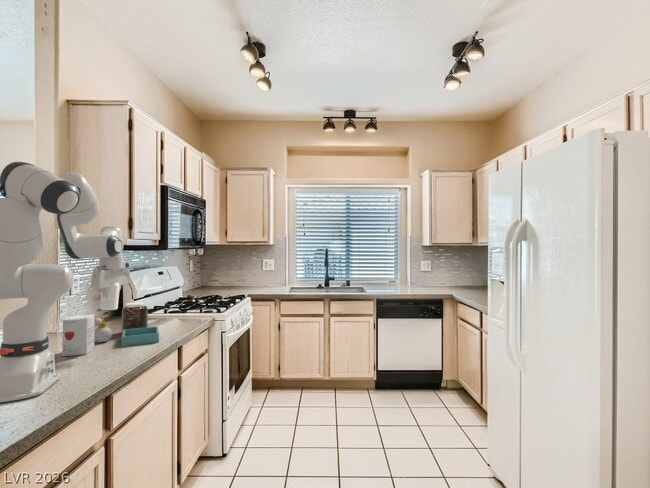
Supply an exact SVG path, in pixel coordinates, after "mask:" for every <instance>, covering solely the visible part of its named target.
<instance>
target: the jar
mask: <svg viewBox="0 0 650 488" xmlns="http://www.w3.org/2000/svg"><path fill="white" fill-rule="evenodd" d="M148 309H149V308H148V306H147V305H145V302H143V301H135V302H128V303H125V307H122V310H121V334H123V330H125V329H135V328H146V327H148V325H149V321H148V320H149V317H148V316H149V314H148V313H149V312H148Z"/></svg>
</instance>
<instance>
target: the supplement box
mask: <svg viewBox="0 0 650 488" xmlns="http://www.w3.org/2000/svg"><path fill="white" fill-rule="evenodd" d="M94 319H95V314H87V315H86V314H85V315H83V314H80V315H71V316H68V317H66V318H64V319H63V320H62V349H61V350H62V353H61V354H62V355H61V356H62V357H70V356H71V357H72V356H81V355H82V356H83V355H88V354H90V353H91V351H93V350H94V349H95V340H94V331H95V326H94Z"/></svg>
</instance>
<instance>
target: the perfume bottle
mask: <svg viewBox="0 0 650 488" xmlns="http://www.w3.org/2000/svg"><path fill="white" fill-rule="evenodd" d="M94 327H97V328H95V329H94V342H96V343H99V344H100V343H105V342H108V341H109V340H110V339H111V338H112V334H113V333H112V330H111V328H109V327H108V326H107V322H106V321H105V319H104V316H101V318H100V317H96V318H95V319H94Z"/></svg>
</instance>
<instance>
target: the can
mask: <svg viewBox="0 0 650 488" xmlns="http://www.w3.org/2000/svg"><path fill="white" fill-rule="evenodd" d="M118 282H119V281H118ZM118 282H112V283H111V286H110V287H108V290H107V292H108V295H107V298H106V296H104V297H103V294H102V292H101V291H100V301H99V302H100V304H99V305H100V306H99V309H100V310H101V311H117V310H118V308H119V298H120V292H119V283H118Z"/></svg>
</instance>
